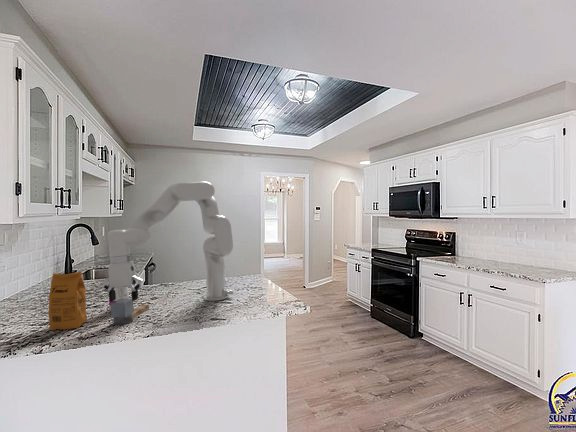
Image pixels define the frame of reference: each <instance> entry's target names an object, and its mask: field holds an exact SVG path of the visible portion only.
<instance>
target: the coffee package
mask: <svg viewBox="0 0 576 432" xmlns="http://www.w3.org/2000/svg"><path fill="white" fill-rule="evenodd" d="M85 286H86V285H85V281H84V279H83V273H82V272H81V271H77V272H71V273H67V274H66V273H63V274H62V273H55V272H54V273H53V274H52V279H51V282H50V289H49V295H48V323H49V331H50V330H52V331H57V330H61V331H66V330H65V329H68V330H73V328H74V329H78V328H80V327H81V326H82V325H83V324H84V323H86V322H87V321H88V317H87V309H86V306H87V302H86V301H87V298H86V294H87V293H86V291H87V289H86V287H85ZM56 329H57V330H56ZM62 329H63V330H62Z"/></svg>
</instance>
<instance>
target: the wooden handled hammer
mask: <svg viewBox="0 0 576 432" xmlns="http://www.w3.org/2000/svg"><path fill="white" fill-rule="evenodd" d="M149 309H150V306H149V304H140V305H138V306H137V307H134V313H132V314H131V315H129V316H127V317H126V318H113V325H114V326H124V324H125V325H129V324H131V323H132V322H133V320H134V319H135V318H137V317H138V316H140V315H142V314H143V313H144V311H145V312H146V311H148V310H149ZM136 316H137V317H136ZM130 322H131V323H130Z"/></svg>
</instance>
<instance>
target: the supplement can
mask: <svg viewBox="0 0 576 432" xmlns="http://www.w3.org/2000/svg"><path fill="white" fill-rule="evenodd" d="M107 283H108V282H107ZM108 285H109V283H108ZM114 290H115V293H116V299H115V300H113V301H112V302H114V301H116V300H118V299H130V296H129V287H115V288H114ZM112 302H110V299H109V298H108V305H109V306H108V307H109V308H108V309H109V311H110V312H111V303H112Z"/></svg>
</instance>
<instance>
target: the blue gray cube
mask: <svg viewBox="0 0 576 432" xmlns="http://www.w3.org/2000/svg"><path fill="white" fill-rule="evenodd" d="M134 309H135V306H134V301H132V298H129V299H118V300H116V301H114V302H112V303H111V311H110V313H111V315H110V317H111V318H113V319H114V318H126V317H127V316H129V315H131V314H132V313H134Z"/></svg>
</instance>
